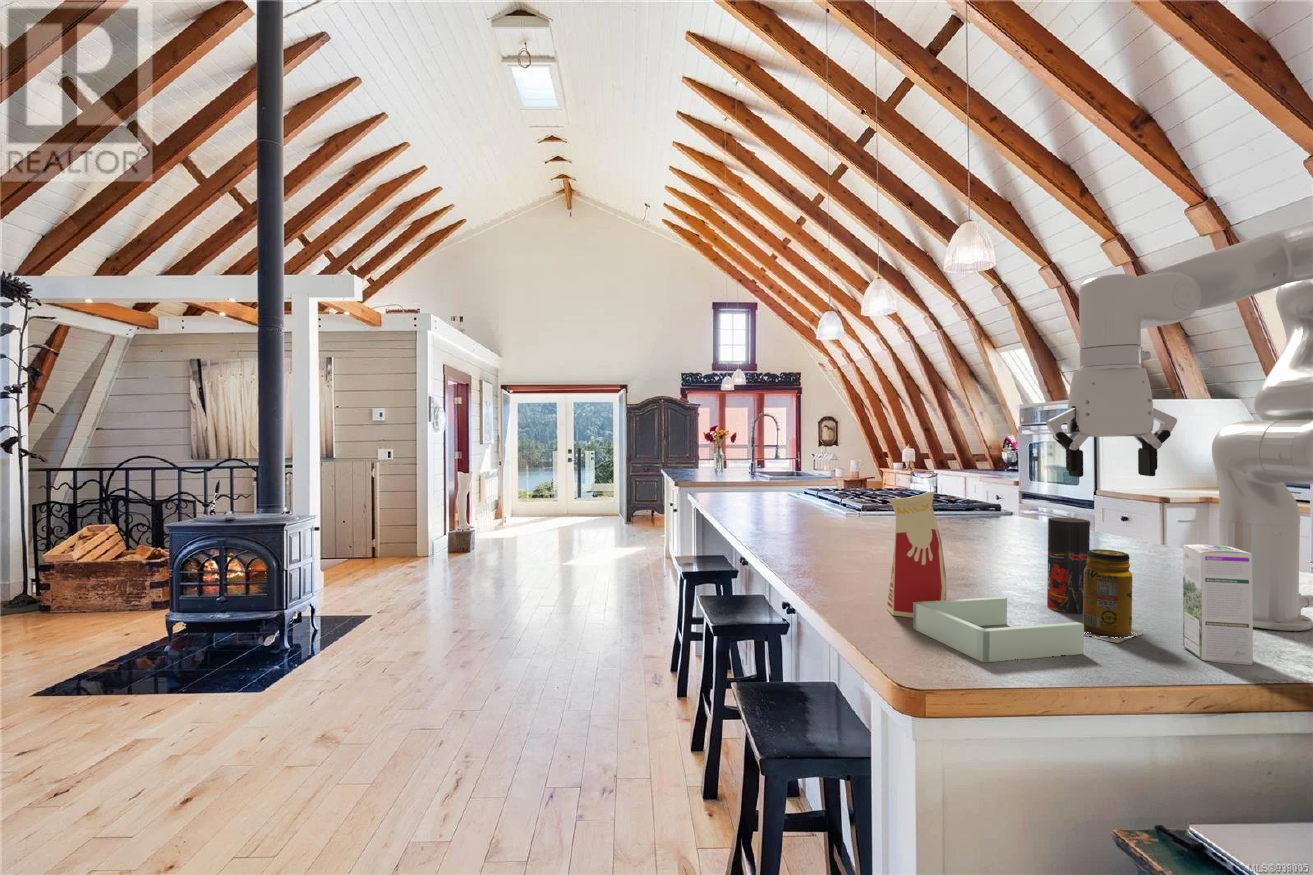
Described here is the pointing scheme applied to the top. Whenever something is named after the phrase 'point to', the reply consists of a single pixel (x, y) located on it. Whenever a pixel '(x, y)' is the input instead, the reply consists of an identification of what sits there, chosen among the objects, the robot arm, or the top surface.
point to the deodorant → (1067, 563)
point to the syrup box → (1218, 603)
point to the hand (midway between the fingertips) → (1111, 475)
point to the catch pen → (993, 631)
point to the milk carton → (916, 556)
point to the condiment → (1108, 595)
